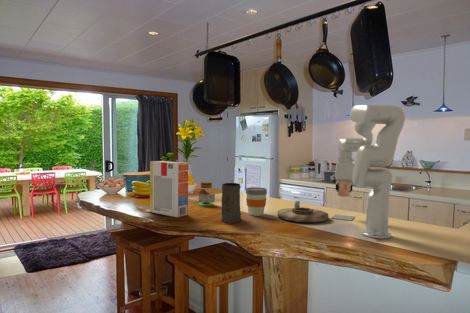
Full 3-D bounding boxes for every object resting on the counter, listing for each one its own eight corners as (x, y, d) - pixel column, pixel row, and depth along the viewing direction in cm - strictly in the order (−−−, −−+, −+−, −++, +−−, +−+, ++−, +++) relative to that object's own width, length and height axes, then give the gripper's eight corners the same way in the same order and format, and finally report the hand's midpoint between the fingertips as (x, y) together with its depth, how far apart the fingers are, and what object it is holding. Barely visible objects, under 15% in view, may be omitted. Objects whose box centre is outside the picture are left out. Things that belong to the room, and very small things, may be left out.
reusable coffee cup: (255, 217, 189) (255, 190, 189) (240, 213, 199) (241, 188, 198) (270, 214, 197) (271, 189, 197) (256, 210, 207) (256, 186, 206)
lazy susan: (333, 214, 194) (333, 203, 194) (320, 224, 170) (320, 212, 170) (287, 209, 208) (288, 199, 208) (269, 217, 184) (270, 206, 184)
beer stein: (238, 223, 173) (239, 185, 172) (218, 222, 175) (219, 184, 174) (244, 217, 188) (244, 182, 187) (225, 216, 190) (226, 181, 190)
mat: (351, 221, 184) (351, 220, 184) (331, 218, 189) (331, 217, 189) (354, 217, 194) (354, 216, 194) (335, 215, 199) (335, 214, 199)
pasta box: (187, 214, 192) (188, 162, 191) (177, 217, 186) (178, 163, 184) (159, 209, 205) (160, 160, 204) (149, 211, 199) (150, 161, 197)
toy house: (193, 203, 228) (193, 181, 227) (211, 202, 233) (211, 181, 232) (199, 206, 217) (199, 183, 216) (217, 205, 222) (217, 183, 222)
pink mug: (335, 194, 194) (336, 179, 193) (346, 194, 195) (346, 179, 195) (343, 197, 185) (344, 181, 185) (354, 197, 186) (354, 181, 186)
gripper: (360, 160, 191) (359, 191, 192) (329, 159, 196) (328, 189, 197) (361, 161, 184) (360, 193, 185) (328, 160, 189) (327, 191, 190)
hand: (343, 191), depth 191 cm, fingers closed on pink mug, 6 cm apart
